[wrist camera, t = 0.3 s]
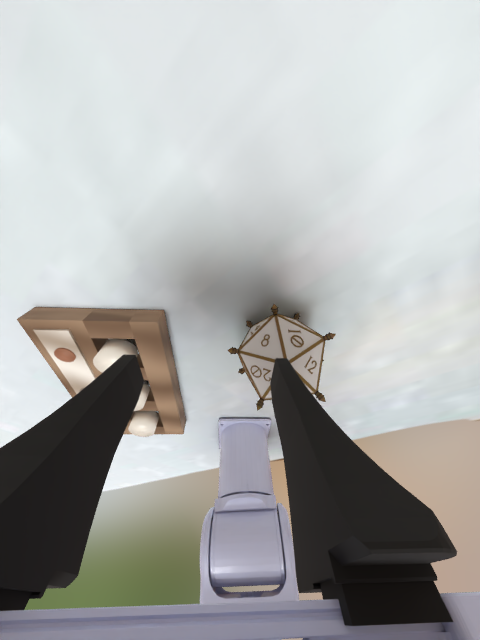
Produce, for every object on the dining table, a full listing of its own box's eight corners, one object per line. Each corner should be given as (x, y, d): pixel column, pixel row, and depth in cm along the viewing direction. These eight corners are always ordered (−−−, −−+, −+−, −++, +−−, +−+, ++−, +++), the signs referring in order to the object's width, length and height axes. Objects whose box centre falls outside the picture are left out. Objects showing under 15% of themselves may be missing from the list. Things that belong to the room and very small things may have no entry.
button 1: (141, 361, 22) (133, 376, 20) (110, 361, 22) (100, 376, 20) (133, 338, 20) (124, 353, 18) (99, 338, 20) (87, 352, 18)
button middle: (152, 395, 25) (146, 411, 24) (125, 395, 25) (118, 411, 23) (146, 379, 23) (140, 394, 22) (118, 378, 23) (109, 394, 22)
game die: (260, 322, 26) (221, 398, 21) (253, 271, 19) (193, 369, 14) (336, 347, 22) (308, 442, 18) (361, 296, 15) (326, 434, 11)
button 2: (161, 421, 29) (156, 436, 27) (137, 421, 29) (131, 436, 27) (156, 408, 27) (151, 424, 25) (131, 408, 27) (125, 424, 25)
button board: (186, 420, 31) (182, 436, 29) (105, 420, 31) (97, 436, 29) (163, 310, 20) (156, 324, 18) (35, 307, 19) (13, 321, 17)
